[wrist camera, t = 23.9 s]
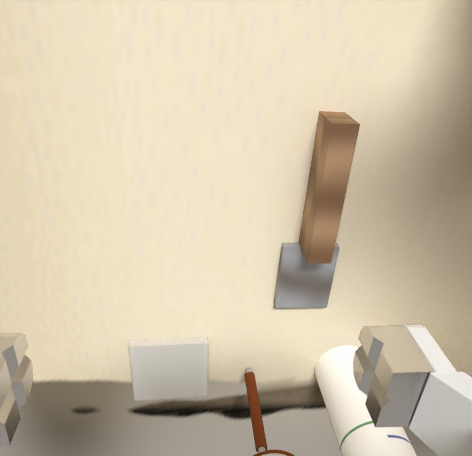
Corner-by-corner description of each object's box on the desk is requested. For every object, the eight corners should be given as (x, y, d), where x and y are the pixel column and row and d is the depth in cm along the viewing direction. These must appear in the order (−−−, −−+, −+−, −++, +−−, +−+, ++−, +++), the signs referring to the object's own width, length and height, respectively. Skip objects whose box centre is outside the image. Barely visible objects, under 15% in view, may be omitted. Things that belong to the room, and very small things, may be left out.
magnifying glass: (219, 384, 56) (234, 565, 38) (214, 376, 55) (227, 557, 38) (282, 361, 55) (327, 536, 38) (278, 352, 54) (322, 526, 37)
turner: (300, 110, 40) (311, 122, 36) (363, 113, 41) (380, 125, 37) (273, 302, 50) (280, 326, 47) (324, 301, 51) (334, 325, 48)
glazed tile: (208, 343, 51) (207, 397, 55) (207, 333, 52) (206, 386, 57) (129, 346, 50) (134, 400, 54) (130, 336, 51) (135, 390, 56)
